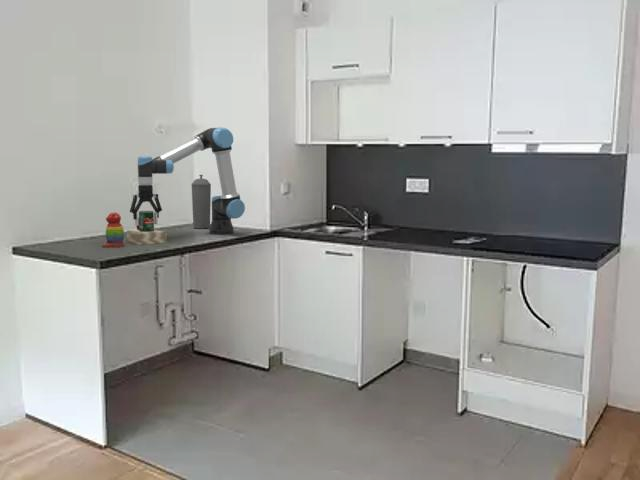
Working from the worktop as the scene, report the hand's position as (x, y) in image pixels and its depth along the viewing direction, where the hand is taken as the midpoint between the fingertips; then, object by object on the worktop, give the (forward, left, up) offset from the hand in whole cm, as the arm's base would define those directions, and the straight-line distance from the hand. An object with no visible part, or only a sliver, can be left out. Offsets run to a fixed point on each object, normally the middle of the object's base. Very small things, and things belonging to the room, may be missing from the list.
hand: (146, 224), depth 342 cm
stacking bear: (+20, +4, -10) cm, 23 cm away
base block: (0, 0, -10) cm, 10 cm away
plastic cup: (-7, -19, -10) cm, 22 cm away
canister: (-56, -38, -10) cm, 68 cm away
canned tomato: (0, 0, -4) cm, 4 cm away
